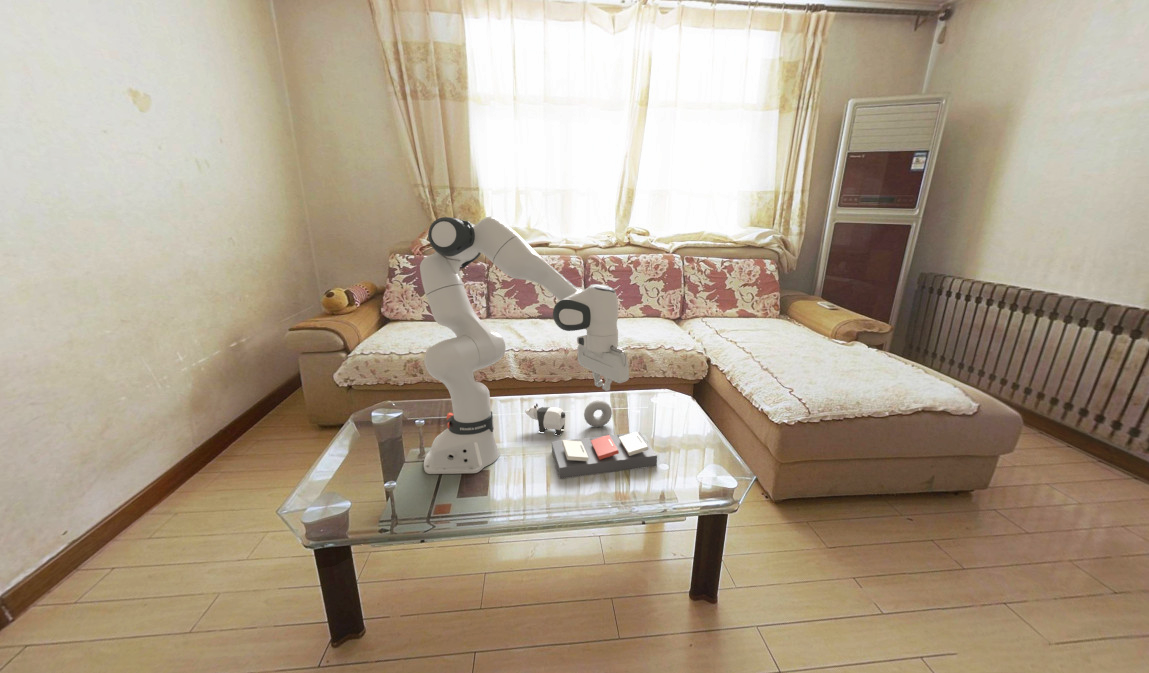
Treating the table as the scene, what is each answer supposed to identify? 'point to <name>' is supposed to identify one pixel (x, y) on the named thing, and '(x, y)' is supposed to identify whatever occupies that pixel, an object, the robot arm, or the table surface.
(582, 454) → the rocker left
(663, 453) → the table surface
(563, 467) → the rocker switch panel
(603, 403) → the donut
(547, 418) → the giant panda
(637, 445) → the rocker right
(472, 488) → the table surface
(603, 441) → the rocker middle
